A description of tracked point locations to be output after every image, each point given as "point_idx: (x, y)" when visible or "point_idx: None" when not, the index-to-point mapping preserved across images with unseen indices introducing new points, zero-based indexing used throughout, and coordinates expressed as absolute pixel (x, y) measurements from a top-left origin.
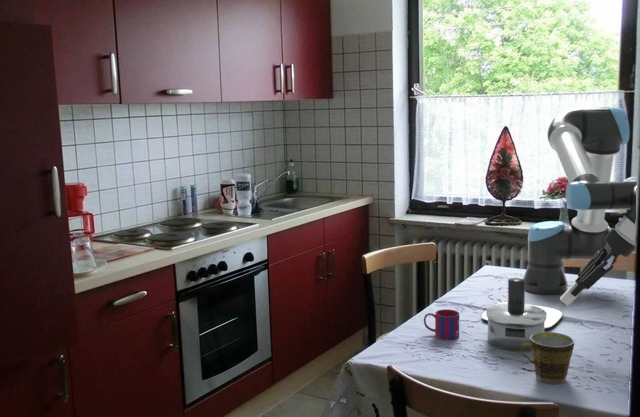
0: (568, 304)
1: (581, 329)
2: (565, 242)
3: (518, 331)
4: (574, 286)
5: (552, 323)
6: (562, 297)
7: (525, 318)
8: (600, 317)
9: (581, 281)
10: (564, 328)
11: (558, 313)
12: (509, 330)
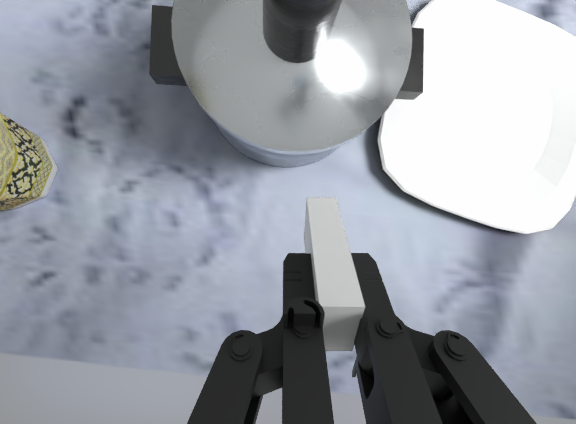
0: (304, 238)
1: (422, 280)
2: None
3: (159, 52)
4: (316, 284)
5: (430, 198)
6: (307, 207)
7: (217, 62)
8: (537, 342)
9: (235, 355)
10: (421, 232)
11: (524, 221)
12: (164, 20)
